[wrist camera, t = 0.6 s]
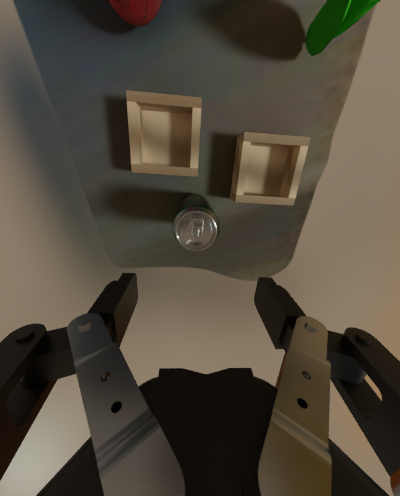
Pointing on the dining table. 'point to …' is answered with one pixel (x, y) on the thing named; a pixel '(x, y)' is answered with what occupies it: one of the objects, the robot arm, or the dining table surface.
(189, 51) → the dining table surface
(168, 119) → the oak endcap
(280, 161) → the oak endcap
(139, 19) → the onion
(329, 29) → the flower
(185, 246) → the soda can
